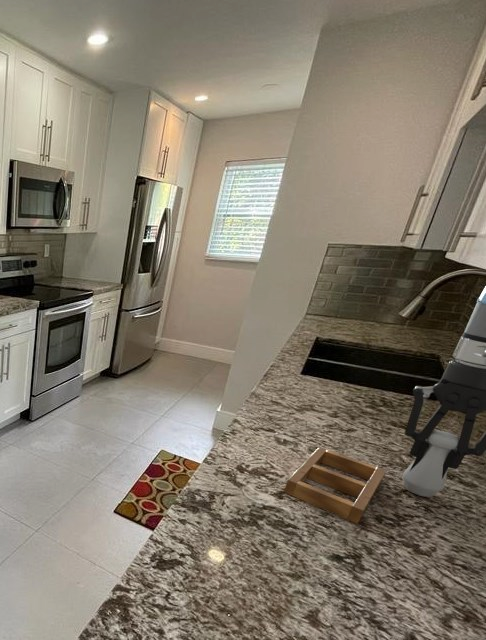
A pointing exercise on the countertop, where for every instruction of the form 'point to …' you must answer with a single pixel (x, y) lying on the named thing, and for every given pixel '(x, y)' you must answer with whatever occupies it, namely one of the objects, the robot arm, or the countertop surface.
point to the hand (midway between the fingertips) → (425, 474)
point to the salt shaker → (431, 465)
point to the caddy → (336, 483)
